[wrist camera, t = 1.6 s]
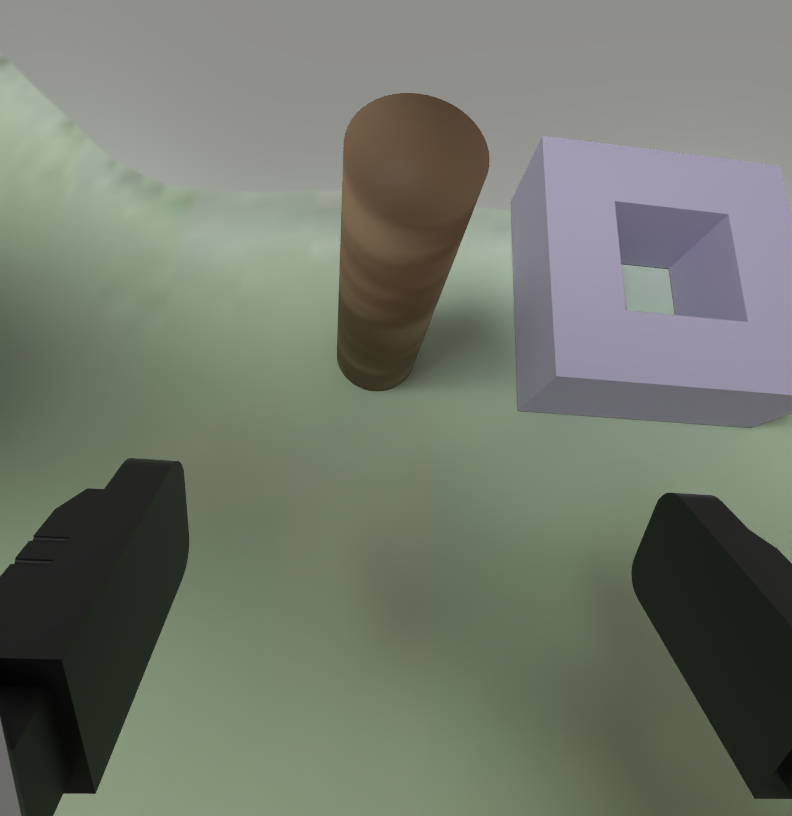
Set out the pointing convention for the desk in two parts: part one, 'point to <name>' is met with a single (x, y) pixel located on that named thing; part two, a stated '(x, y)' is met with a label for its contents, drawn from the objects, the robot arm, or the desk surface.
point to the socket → (663, 248)
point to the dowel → (401, 227)
